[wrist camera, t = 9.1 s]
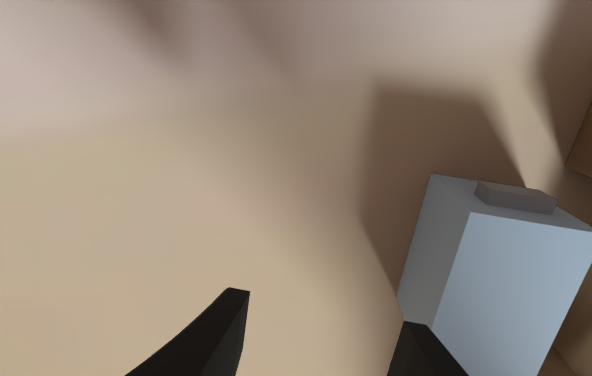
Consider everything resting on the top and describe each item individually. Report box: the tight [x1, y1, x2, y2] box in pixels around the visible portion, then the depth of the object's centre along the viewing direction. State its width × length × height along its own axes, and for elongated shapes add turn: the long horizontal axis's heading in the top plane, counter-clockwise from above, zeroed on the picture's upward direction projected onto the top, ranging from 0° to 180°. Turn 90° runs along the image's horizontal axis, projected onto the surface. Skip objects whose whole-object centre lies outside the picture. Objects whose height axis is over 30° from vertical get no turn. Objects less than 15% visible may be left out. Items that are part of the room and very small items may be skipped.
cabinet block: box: [396, 173, 592, 376], centre depth 15 cm, size 8×4×5 cm, turn 172°
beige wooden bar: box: [537, 104, 592, 376], centre depth 15 cm, size 22×4×4 cm, turn 171°
